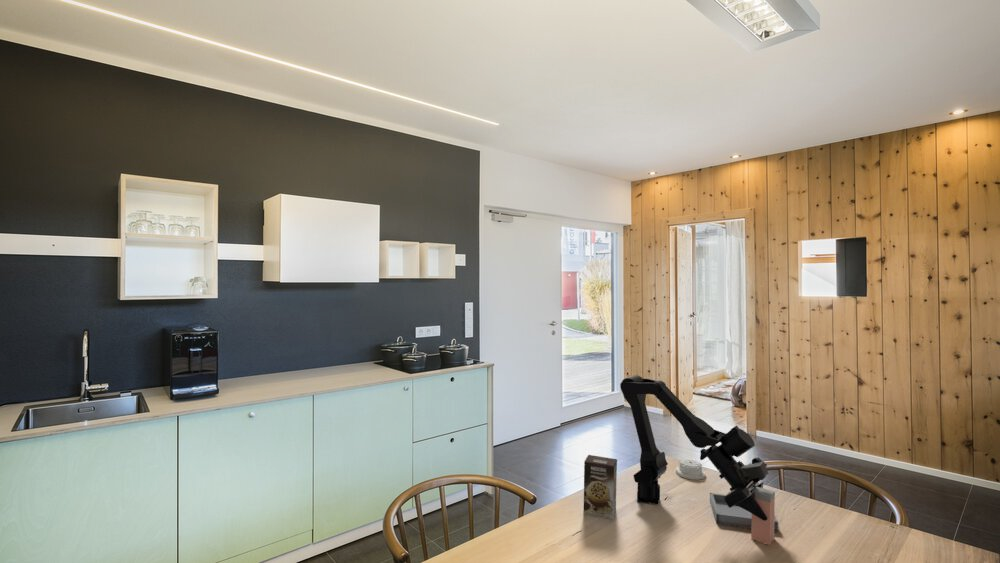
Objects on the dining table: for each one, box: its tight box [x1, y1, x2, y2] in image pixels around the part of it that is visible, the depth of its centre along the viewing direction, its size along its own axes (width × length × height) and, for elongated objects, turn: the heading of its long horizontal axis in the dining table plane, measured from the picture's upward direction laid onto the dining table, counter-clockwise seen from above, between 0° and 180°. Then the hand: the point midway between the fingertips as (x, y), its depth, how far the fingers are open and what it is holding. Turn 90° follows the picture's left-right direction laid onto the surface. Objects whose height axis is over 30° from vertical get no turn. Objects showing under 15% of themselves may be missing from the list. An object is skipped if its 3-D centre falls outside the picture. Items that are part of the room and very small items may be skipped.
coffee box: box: [582, 454, 618, 521], centre depth 146 cm, size 9×6×16 cm
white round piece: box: [675, 458, 706, 481], centre depth 174 cm, size 10×4×10 cm
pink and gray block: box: [750, 487, 776, 546], centre depth 132 cm, size 4×4×13 cm
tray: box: [709, 492, 779, 533], centre depth 144 cm, size 16×14×3 cm
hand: (768, 516), depth 131 cm, fingers closed on pink and gray block, 4 cm apart
